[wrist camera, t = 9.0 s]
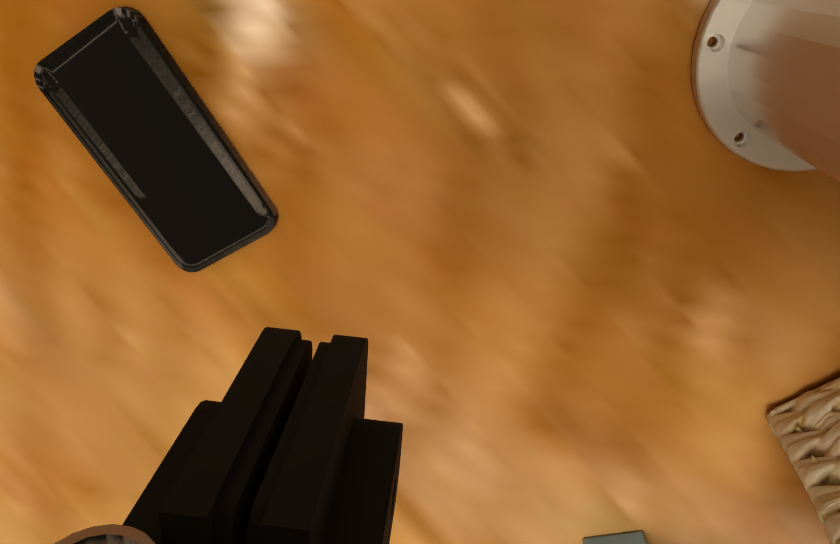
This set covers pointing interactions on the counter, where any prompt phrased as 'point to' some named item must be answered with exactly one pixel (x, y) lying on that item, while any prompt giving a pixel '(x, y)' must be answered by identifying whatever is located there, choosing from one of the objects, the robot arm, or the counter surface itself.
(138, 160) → the phone
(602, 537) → the teal rectangular box
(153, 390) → the counter surface
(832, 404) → the storage basket
